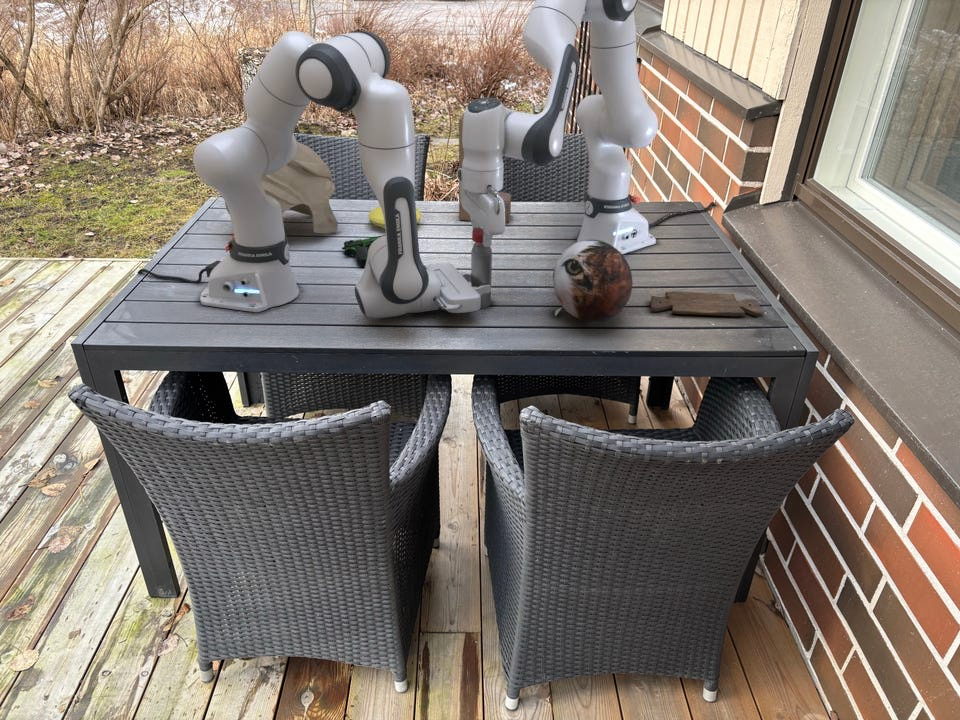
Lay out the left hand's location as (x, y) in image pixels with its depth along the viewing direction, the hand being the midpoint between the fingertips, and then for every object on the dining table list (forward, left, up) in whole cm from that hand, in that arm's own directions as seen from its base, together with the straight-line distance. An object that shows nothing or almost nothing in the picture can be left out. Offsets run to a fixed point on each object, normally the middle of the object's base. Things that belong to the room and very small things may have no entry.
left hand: (484, 282), depth 165 cm
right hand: (-1, 0, +10) cm, 10 cm away
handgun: (-31, +27, -5) cm, 41 cm away
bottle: (-1, 0, -5) cm, 5 cm away
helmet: (-60, +40, -5) cm, 72 cm away
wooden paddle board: (+51, +2, -5) cm, 52 cm away
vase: (-29, +50, -5) cm, 58 cm away
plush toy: (+24, -5, -5) cm, 25 cm away
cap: (-1, 0, +12) cm, 12 cm away
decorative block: (-3, +58, -5) cm, 58 cm away
